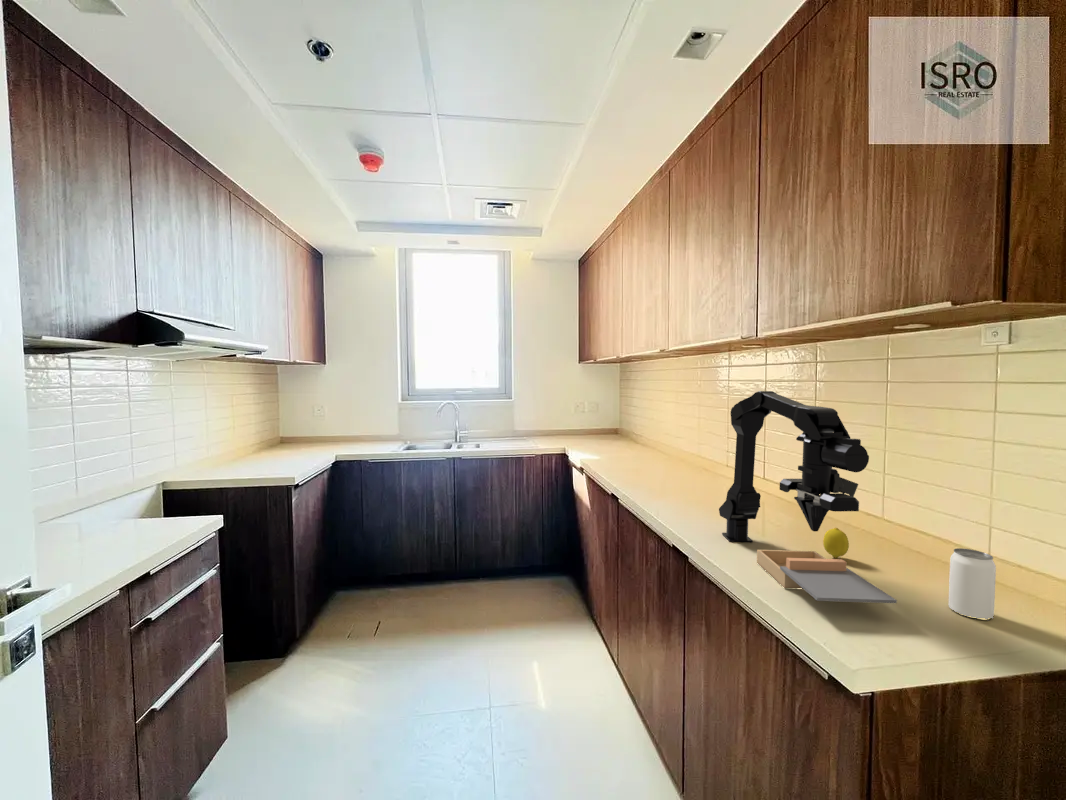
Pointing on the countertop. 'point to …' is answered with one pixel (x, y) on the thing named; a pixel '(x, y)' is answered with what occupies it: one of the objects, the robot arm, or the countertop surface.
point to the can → (972, 583)
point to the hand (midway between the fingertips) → (814, 530)
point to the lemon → (836, 542)
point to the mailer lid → (833, 581)
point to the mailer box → (782, 563)
